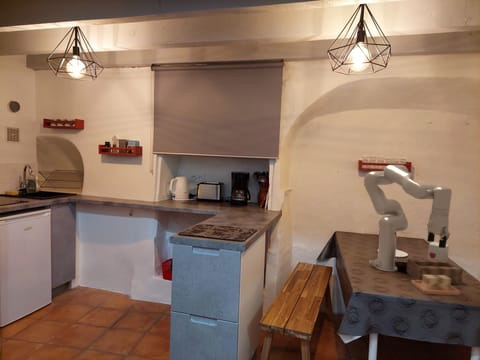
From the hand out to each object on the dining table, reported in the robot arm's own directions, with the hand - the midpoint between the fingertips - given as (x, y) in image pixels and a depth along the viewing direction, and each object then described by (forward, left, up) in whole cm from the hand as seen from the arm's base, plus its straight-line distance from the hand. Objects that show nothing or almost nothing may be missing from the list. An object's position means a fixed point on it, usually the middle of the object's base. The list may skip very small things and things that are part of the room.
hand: (436, 244), depth 164 cm
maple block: (+2, 0, -23) cm, 23 cm away
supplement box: (+21, +32, -24) cm, 45 cm away
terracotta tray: (+1, 0, -23) cm, 23 cm away
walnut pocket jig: (+9, +15, -23) cm, 29 cm away
